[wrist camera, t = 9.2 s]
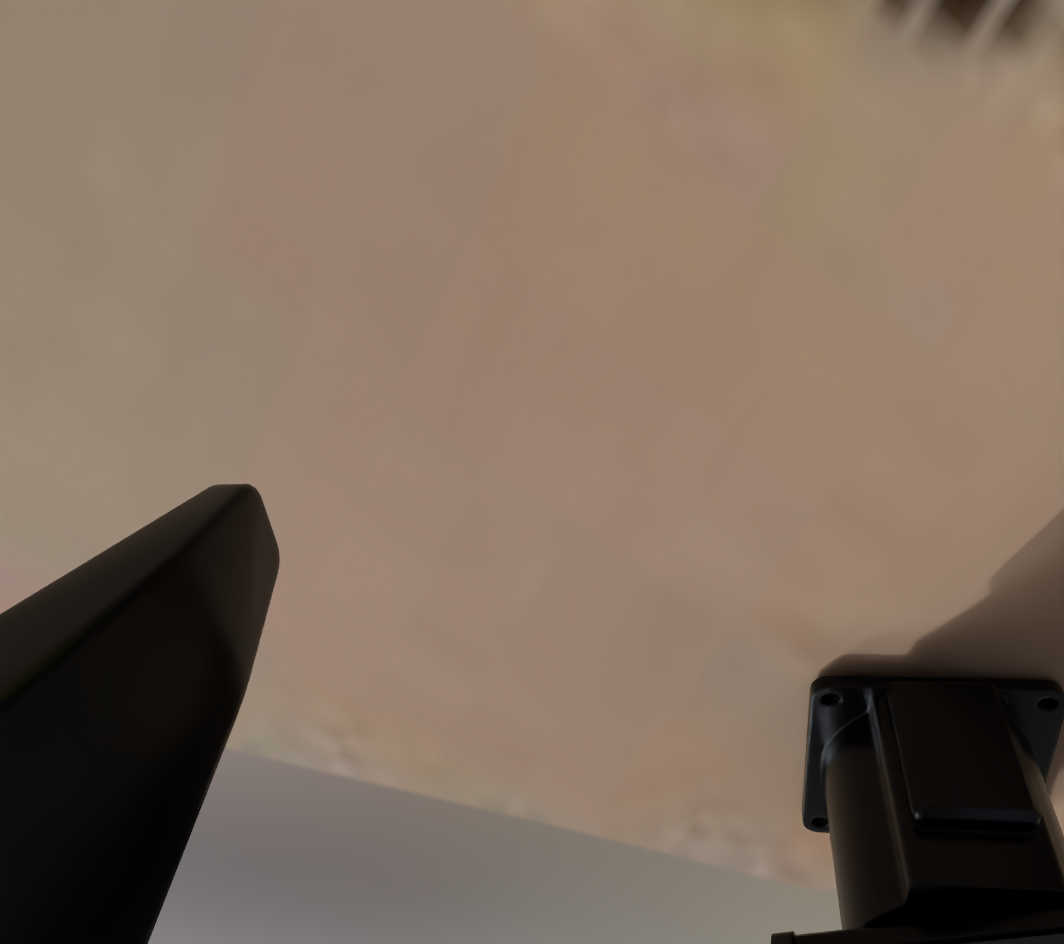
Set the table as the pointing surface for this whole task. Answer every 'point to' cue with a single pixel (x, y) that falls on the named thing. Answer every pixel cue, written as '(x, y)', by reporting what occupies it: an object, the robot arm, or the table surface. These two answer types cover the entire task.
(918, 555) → the table surface
